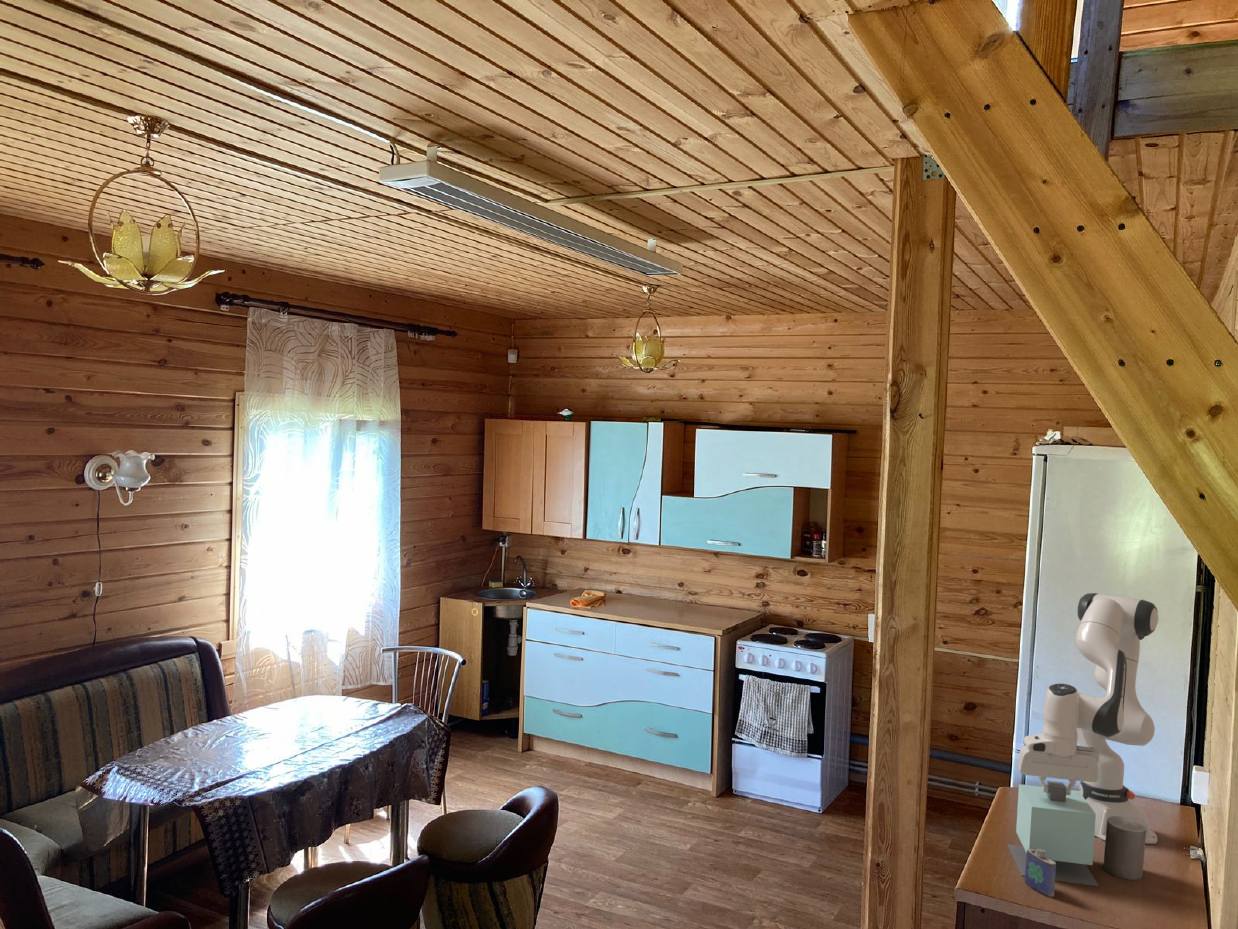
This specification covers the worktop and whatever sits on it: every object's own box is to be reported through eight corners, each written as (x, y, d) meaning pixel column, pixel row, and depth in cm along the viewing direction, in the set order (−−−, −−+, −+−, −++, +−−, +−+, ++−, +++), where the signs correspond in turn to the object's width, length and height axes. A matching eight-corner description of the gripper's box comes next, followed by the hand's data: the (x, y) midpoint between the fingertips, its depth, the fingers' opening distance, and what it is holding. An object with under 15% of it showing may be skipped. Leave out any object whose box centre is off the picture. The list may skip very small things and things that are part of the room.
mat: (1078, 855, 265) (1078, 853, 265) (1098, 886, 246) (1098, 885, 246) (1007, 845, 269) (1007, 844, 269) (1022, 876, 250) (1022, 875, 250)
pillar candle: (1094, 865, 259) (1099, 813, 258) (1121, 861, 262) (1125, 809, 261) (1124, 882, 249) (1129, 828, 249) (1151, 878, 253) (1155, 824, 252)
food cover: (1075, 839, 264) (1079, 777, 263) (1092, 865, 248) (1096, 799, 247) (1016, 832, 267) (1019, 770, 266) (1028, 857, 251) (1032, 792, 250)
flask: (1056, 897, 239) (1058, 856, 239) (1047, 899, 238) (1050, 858, 238) (1029, 880, 248) (1031, 841, 248) (1020, 881, 247) (1023, 842, 247)
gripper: (1096, 744, 257) (1093, 793, 258) (1017, 736, 261) (1015, 784, 262) (1103, 752, 251) (1100, 802, 252) (1022, 744, 255) (1020, 793, 256)
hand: (1056, 793), depth 257 cm, fingers closed on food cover, 4 cm apart
